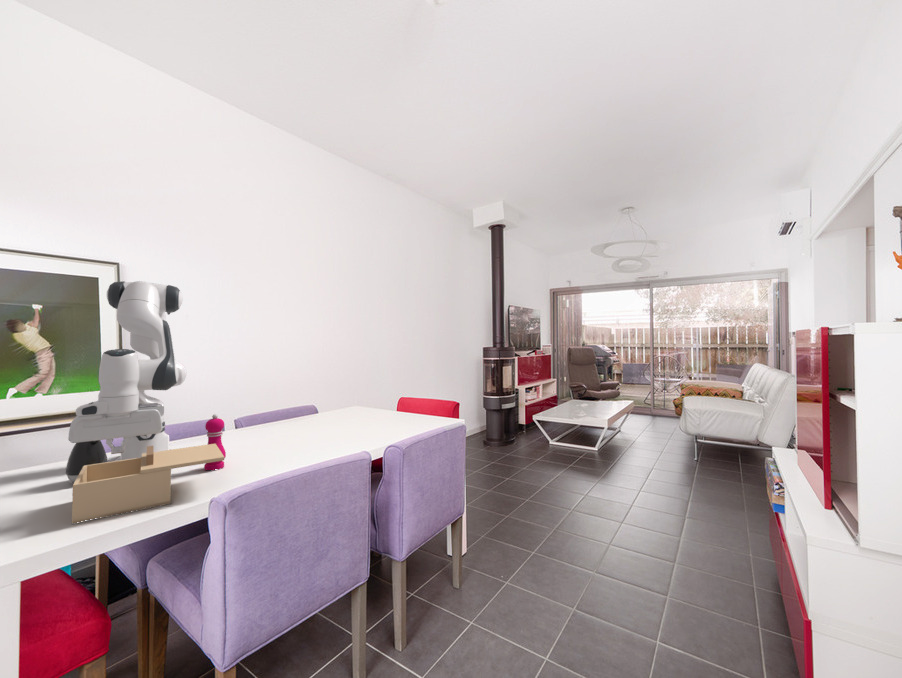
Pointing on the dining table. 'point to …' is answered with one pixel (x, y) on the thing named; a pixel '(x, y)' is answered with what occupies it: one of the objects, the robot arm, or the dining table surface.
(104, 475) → the box
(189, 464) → the lid
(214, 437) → the pepper mill
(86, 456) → the black egg shape
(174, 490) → the dining table surface
